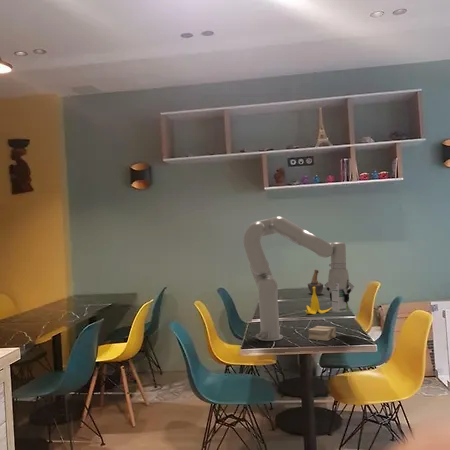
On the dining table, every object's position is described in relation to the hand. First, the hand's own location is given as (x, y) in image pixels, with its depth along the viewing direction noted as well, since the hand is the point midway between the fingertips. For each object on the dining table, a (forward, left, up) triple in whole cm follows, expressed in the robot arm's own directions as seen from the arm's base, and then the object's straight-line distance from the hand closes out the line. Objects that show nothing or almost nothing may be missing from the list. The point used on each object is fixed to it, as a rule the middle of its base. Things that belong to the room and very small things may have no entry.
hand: (339, 300), depth 263 cm
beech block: (-11, +5, -17) cm, 21 cm away
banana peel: (+50, +45, -18) cm, 70 cm away
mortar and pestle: (+119, +91, -17) cm, 151 cm away
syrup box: (0, 0, -5) cm, 5 cm away
